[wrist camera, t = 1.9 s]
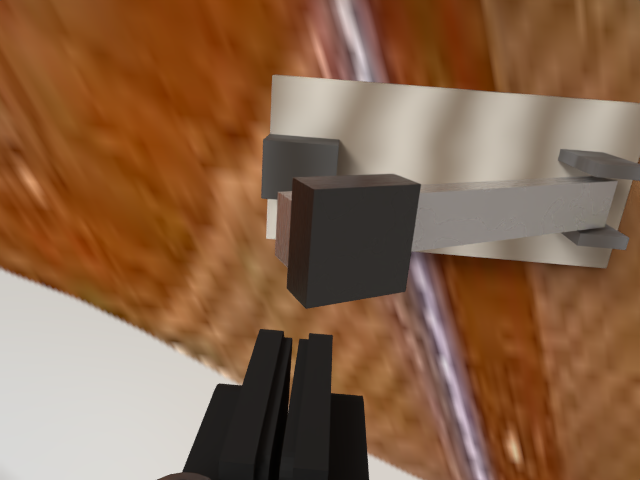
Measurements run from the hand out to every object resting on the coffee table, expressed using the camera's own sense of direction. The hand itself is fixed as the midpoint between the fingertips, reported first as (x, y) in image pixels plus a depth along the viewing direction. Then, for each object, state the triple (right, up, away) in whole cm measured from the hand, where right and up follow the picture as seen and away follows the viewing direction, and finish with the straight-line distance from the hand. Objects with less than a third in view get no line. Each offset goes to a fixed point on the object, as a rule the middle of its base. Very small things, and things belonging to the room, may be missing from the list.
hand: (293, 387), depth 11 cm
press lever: (+8, +5, +16) cm, 18 cm away
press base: (+10, +9, +26) cm, 29 cm away
